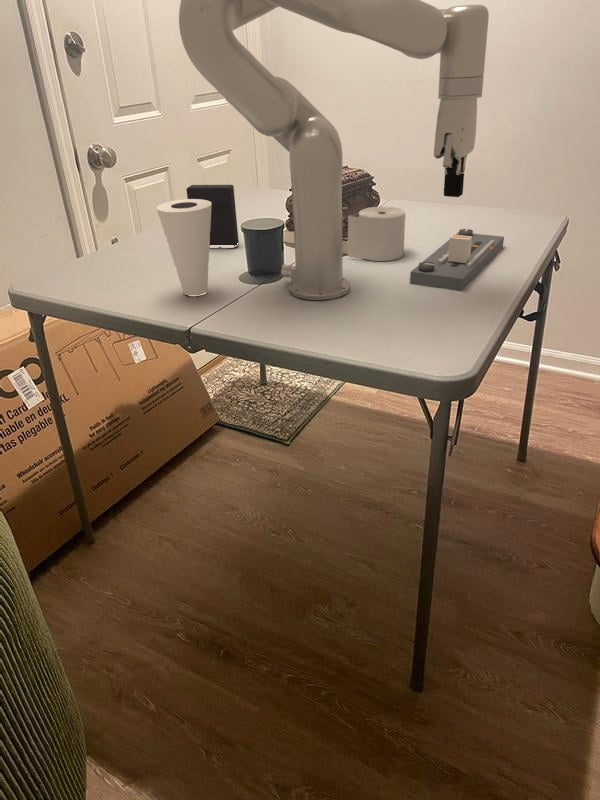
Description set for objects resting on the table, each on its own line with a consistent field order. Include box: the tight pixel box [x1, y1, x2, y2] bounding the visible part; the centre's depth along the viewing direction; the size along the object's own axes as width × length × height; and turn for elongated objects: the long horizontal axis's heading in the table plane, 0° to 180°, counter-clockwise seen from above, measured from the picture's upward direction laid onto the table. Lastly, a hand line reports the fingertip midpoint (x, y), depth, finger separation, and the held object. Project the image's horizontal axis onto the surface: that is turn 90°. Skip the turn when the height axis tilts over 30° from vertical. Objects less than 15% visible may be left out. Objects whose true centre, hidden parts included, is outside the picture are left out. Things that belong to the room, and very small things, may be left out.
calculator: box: [186, 184, 240, 246], centre depth 155 cm, size 11×4×15 cm, turn 80°
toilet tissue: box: [347, 206, 406, 262], centre depth 144 cm, size 11×12×10 cm
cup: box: [156, 198, 212, 295], centre depth 125 cm, size 11×11×18 cm
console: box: [409, 228, 505, 292], centre depth 138 cm, size 11×32×4 cm, turn 150°
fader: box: [448, 234, 472, 263], centre depth 131 cm, size 4×2×5 cm, turn 60°
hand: (453, 195), depth 118 cm, fingers closed
